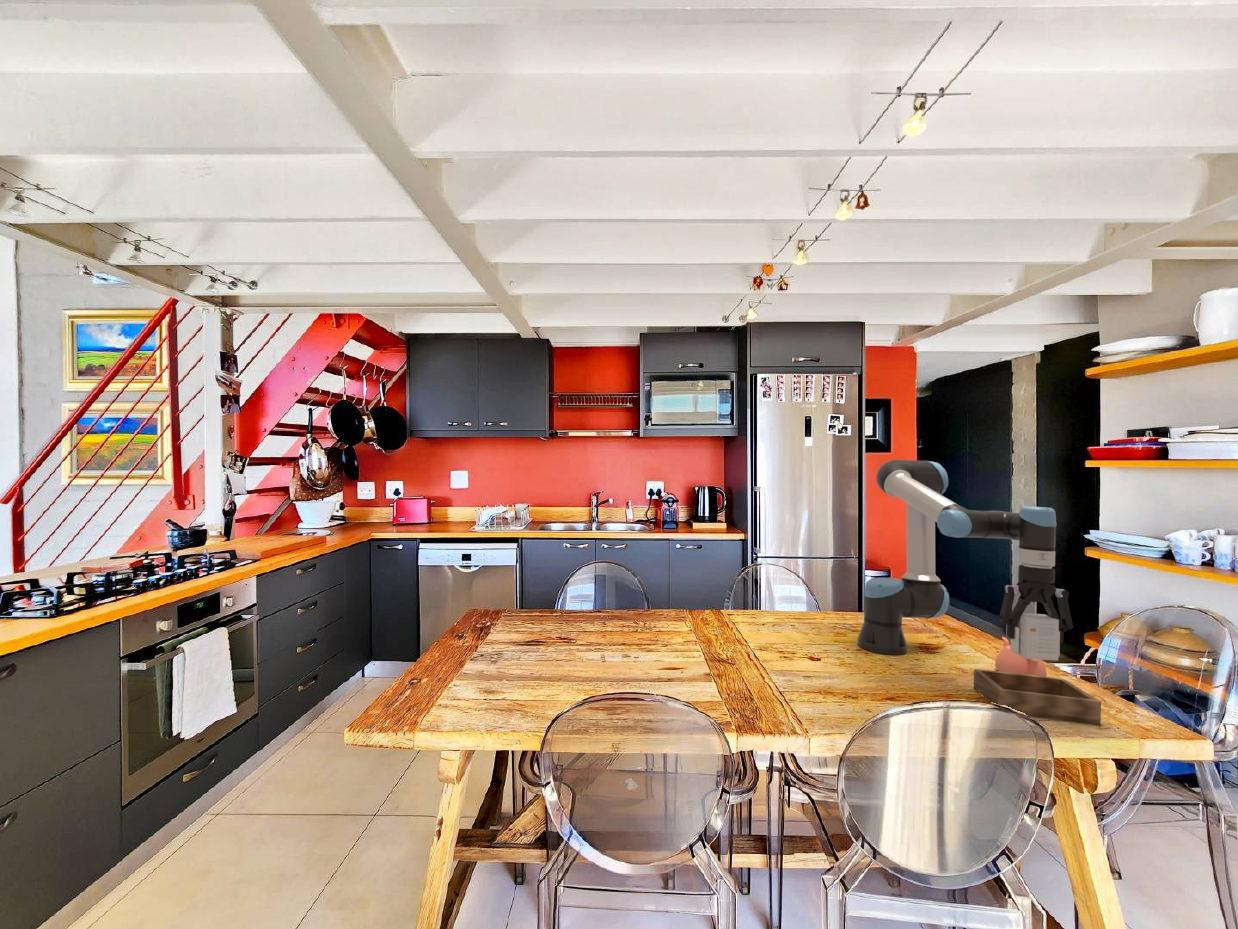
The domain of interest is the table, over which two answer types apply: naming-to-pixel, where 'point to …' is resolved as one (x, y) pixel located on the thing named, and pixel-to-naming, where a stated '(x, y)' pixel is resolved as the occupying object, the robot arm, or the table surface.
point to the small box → (1038, 637)
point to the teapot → (1018, 662)
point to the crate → (1038, 696)
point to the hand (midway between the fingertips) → (1034, 653)
